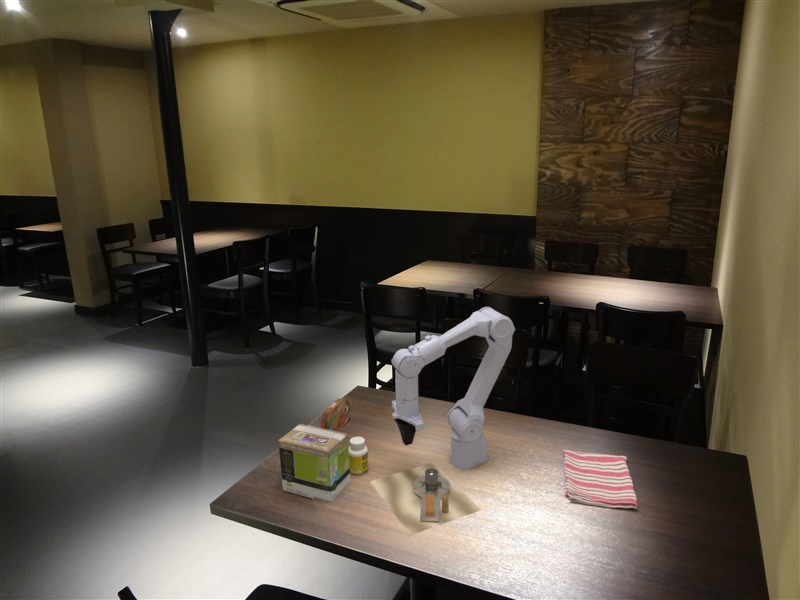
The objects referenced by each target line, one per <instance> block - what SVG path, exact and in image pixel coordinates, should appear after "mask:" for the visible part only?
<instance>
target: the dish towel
mask: <svg viewBox="0 0 800 600" xmlns="http://www.w3.org/2000/svg"><path fill="white" fill-rule="evenodd" d="M562 451H563V452H562V453H563V466H564V481H565V484H564V495H565V498H566V499H567V500H568V501H570V502H575V503H579V504H584V505H589V506H596V507H606V508H616V509H617V508H621V509H622V508H623V509H631V510H636V511H637V510H638V508H639V507H638V500H637V499H638V498H637V495H636V491H635V488H634V486H635V485H634V483H633V479H632V477H631V474H630V470H629V467H628V463H627V462H628V461H627V458H628V457H627V456H626V455H613V454H606V453H596V452H595V453H594V452H584V451H582V452H581V451H575V450H569V449H562Z"/></svg>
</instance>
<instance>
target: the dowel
mask: <svg viewBox="0 0 800 600" xmlns="http://www.w3.org/2000/svg"><path fill="white" fill-rule="evenodd" d="M442 512H443V513H448V512H449V496H448V495H442Z"/></svg>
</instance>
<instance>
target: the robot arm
mask: <svg viewBox="0 0 800 600" xmlns="http://www.w3.org/2000/svg"><path fill="white" fill-rule="evenodd" d="M515 331H516V328H515V326H514V323H513V321H512V320H511V318H510V317H508V316H506V315H504V314H502V313H500V312H499V311H497V310H495V309H494V308H492V307H490V306H485V307H481V308H480V309H479V310H477V311H474V312H472V314H471V315H470V317H468V318H467V319H465V320H464V321H462V322H460V323H458V324H457V325H456V326H454V327H453V328H451V329H449V330H447V331H446V332H445V333H443V334H442V335H435V334H433V335H429V334H428V335H426V336H424V339H423V340H421V341H419V342H417V343H415V344H414V345H412V344H411V345H410V346H408V348H401V349H399V350H397V351H396V352H395V353H394V355H393V357H392V359H391V364H392V366H393V368H394V369H395V371H394V372H395V379H394V380H395V400H391V408H392V409H393V410H394V412H392V413H391V416H392V418H393V419H394V422H395V424H396V426H397V427H398V430H399V433H400V436H401V441H402V444H404V445H405V446H410V445H413V442H414V439H415V435H416V432H421V431H424V430H425V422H424V421H423V419H422V415H421V413H420V409H419V374H420V373H421V371H422V369H423V368H424V367H425V366H426V365H427V366H428V364H430V363H432V362H433V361H436V360H437V359H439V358H441V357H442V356H444V355H445V353H446V351H447V348H449V347H452V346H453V345H456V344H458V343H460V342H462V341H464V340H467V339H468V338H470V337H473V336H478V337H483V338H485V340H486V342H487V344H488V348H487V350H486V352H485V355H484V357H483V358H482V360H481V363H480V364H479V367H478V368H477V371H476V373H475V376H473V379H472V381H471V382H470V386H469V388H468V390H467V392H466V393H465V396H464V397H463V398H461V399H459V400H457V401H456V403H455V405H454V406H453V407H452V408H451V409H450V410H449V411H448V413H447V416H446V420H447V423H448V425H449V426H450V428H451V429H450V464H451V466H453V467H455V468H457V469H460V470H461V469H462V470H469V469H473V468H475V467H476V466H479V465H481V464H484V463H486V462H487V455H488V451H487V450H488V442H487V439H486V437H485V434H484V433H483V424H484V422H485V419H486V418H485V412H484V406H485V404H486V402H487V401H488V398H489V396H490V394H491V391H492V390H493V387H494V386H495V383H496V381H497V380H498V378H499V375H500V374H501V371H502V369H503V367H504V366H505V363H506V361H507V359H508V357H509V354H510V352H511V349H512V348H513V345H512V344H513V335H514V334H515V333H514V332H515Z"/></svg>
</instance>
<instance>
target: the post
mask: <svg viewBox="0 0 800 600" xmlns="http://www.w3.org/2000/svg"><path fill="white" fill-rule="evenodd" d="M425 490H427V491H437V490H438V471H437V470H436V469H432V468H431V469H427V470H426V471H425Z"/></svg>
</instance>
